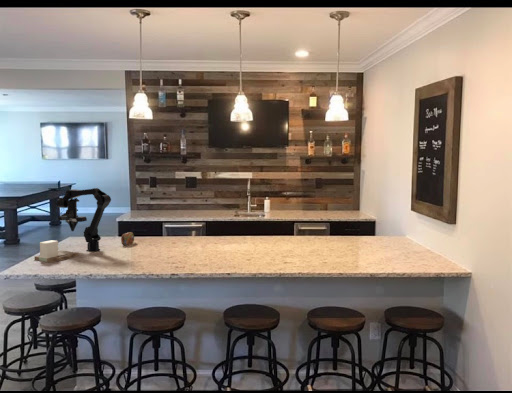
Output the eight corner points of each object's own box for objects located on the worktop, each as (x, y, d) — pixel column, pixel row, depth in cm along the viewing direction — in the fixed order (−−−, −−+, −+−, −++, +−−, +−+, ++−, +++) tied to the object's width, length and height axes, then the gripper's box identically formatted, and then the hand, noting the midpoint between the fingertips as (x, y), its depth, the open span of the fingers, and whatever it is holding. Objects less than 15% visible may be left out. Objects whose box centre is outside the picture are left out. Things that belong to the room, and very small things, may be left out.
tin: (124, 246, 304) (124, 234, 303) (120, 246, 304) (120, 234, 304) (134, 242, 318) (134, 231, 318) (130, 242, 319) (130, 231, 318)
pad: (47, 258, 267) (47, 255, 267) (55, 259, 264) (55, 256, 264) (39, 260, 262) (38, 257, 261) (47, 261, 258) (46, 258, 258)
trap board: (61, 253, 281) (61, 250, 281) (78, 256, 274) (78, 252, 274) (34, 259, 263) (34, 256, 263) (51, 262, 257) (51, 259, 257)
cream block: (51, 254, 268) (51, 240, 268) (58, 255, 266) (58, 241, 265) (40, 257, 261) (39, 242, 260) (47, 258, 259) (46, 243, 258)
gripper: (51, 208, 287) (52, 232, 288) (75, 210, 282) (76, 234, 283) (63, 207, 298) (64, 229, 299) (87, 208, 292) (87, 231, 294)
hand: (72, 231), depth 293 cm, fingers closed
